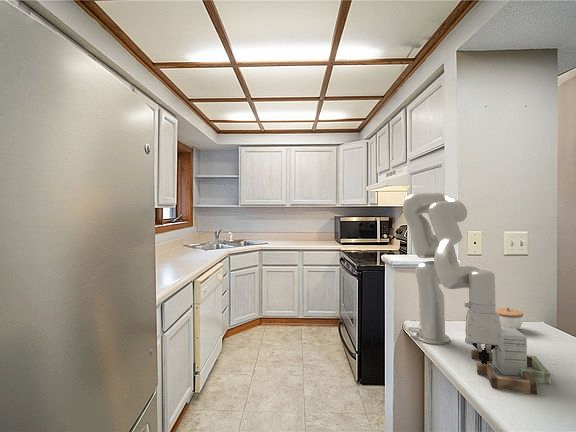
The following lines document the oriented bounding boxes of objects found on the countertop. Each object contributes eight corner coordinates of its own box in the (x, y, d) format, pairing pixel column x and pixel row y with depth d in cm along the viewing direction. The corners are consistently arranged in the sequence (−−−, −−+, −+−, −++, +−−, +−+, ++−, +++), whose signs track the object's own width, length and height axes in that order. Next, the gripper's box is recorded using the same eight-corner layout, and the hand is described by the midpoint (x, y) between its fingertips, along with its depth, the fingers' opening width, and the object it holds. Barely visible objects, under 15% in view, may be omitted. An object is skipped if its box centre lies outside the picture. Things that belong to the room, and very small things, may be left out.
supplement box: (491, 364, 111) (491, 326, 111) (516, 365, 109) (515, 327, 109) (501, 374, 104) (501, 334, 103) (528, 376, 102) (527, 336, 102)
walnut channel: (477, 374, 104) (477, 365, 104) (471, 357, 116) (471, 348, 116) (550, 384, 97) (550, 374, 97) (535, 365, 109) (535, 355, 109)
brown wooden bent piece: (491, 387, 96) (491, 377, 96) (486, 375, 104) (486, 365, 104) (536, 394, 92) (536, 383, 92) (528, 380, 100) (527, 370, 100)
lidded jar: (529, 333, 137) (529, 310, 137) (503, 334, 137) (503, 311, 137) (512, 324, 148) (511, 303, 148) (488, 325, 148) (487, 304, 148)
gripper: (458, 309, 108) (459, 364, 109) (511, 312, 103) (513, 371, 103) (456, 303, 115) (457, 355, 115) (506, 306, 110) (507, 361, 110)
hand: (483, 362), depth 109 cm, fingers closed
